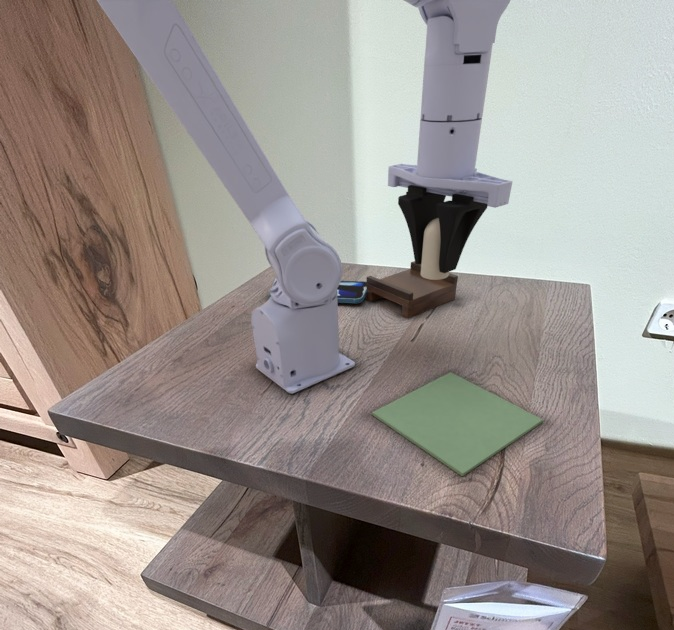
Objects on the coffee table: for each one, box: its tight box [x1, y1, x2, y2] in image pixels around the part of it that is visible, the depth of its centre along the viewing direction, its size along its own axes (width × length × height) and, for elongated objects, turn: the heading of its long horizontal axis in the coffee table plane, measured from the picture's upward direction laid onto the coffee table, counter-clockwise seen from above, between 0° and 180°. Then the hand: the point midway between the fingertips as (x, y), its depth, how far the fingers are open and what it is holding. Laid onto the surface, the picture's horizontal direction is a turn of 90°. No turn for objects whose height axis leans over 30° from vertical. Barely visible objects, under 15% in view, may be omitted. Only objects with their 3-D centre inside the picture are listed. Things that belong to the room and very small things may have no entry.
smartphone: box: [268, 279, 367, 305], centre depth 71 cm, size 7×1×15 cm
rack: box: [365, 260, 459, 319], centre depth 68 cm, size 10×9×4 cm
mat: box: [371, 371, 544, 477], centre depth 46 cm, size 12×12×1 cm
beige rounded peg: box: [421, 218, 450, 280], centre depth 50 cm, size 3×3×6 cm
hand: (435, 266), depth 51 cm, fingers closed on beige rounded peg, 3 cm apart
